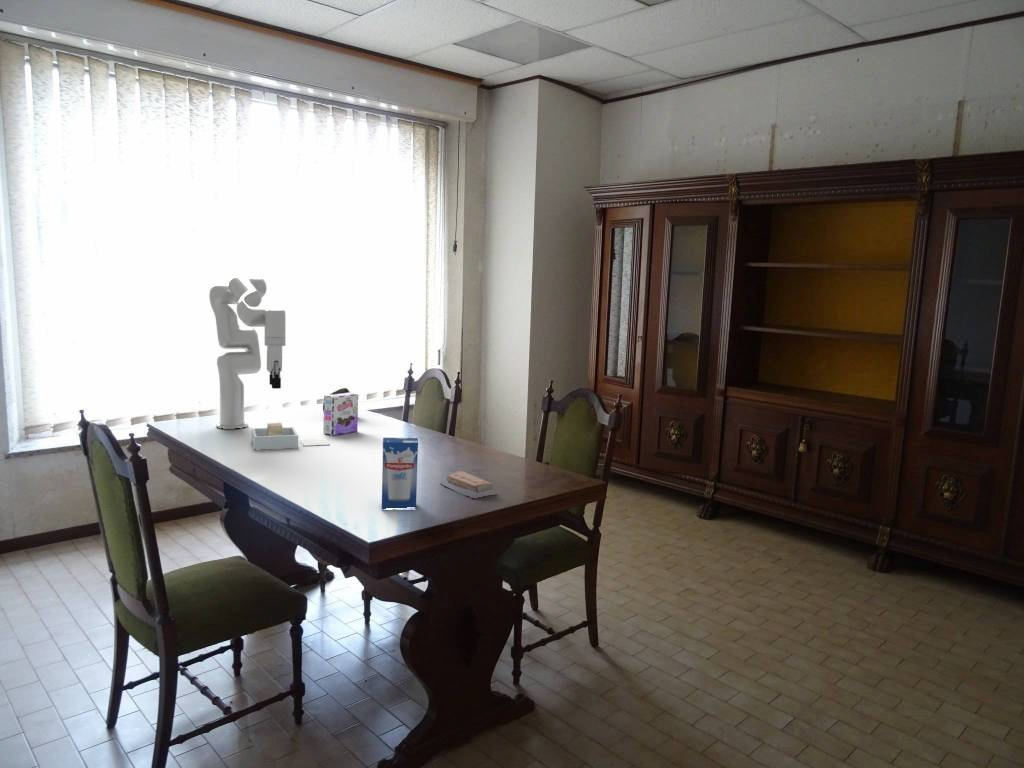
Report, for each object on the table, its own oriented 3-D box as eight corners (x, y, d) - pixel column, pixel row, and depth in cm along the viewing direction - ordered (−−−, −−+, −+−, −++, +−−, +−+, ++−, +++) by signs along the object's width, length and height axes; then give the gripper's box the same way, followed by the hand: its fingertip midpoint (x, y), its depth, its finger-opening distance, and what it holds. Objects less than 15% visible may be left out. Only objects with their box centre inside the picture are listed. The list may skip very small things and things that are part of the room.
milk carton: (415, 503, 219) (417, 437, 216) (416, 510, 213) (418, 442, 210) (381, 503, 217) (383, 437, 215) (381, 510, 211) (382, 442, 208)
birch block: (267, 438, 285) (267, 423, 284) (280, 437, 287) (280, 422, 286) (268, 441, 280) (268, 425, 280) (282, 440, 282) (282, 425, 282)
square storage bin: (252, 441, 288) (252, 428, 287) (293, 439, 294) (293, 427, 293) (254, 450, 274) (254, 437, 273) (298, 448, 280) (298, 435, 279)
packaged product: (498, 481, 232) (472, 485, 225) (497, 496, 232) (472, 501, 226) (465, 468, 245) (440, 472, 239) (464, 482, 246) (439, 486, 240)
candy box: (332, 436, 303) (332, 396, 301) (322, 434, 307) (323, 394, 304) (358, 431, 314) (358, 393, 312) (348, 429, 317) (349, 391, 315)
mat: (300, 440, 292) (300, 439, 292) (325, 439, 296) (325, 438, 296) (303, 446, 283) (303, 445, 283) (329, 445, 287) (329, 444, 287)
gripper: (262, 339, 285) (262, 383, 287) (266, 343, 269) (266, 390, 271) (283, 339, 288) (283, 383, 290) (287, 343, 272) (287, 389, 274)
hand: (275, 386), depth 281 cm, fingers open, 9 cm apart
